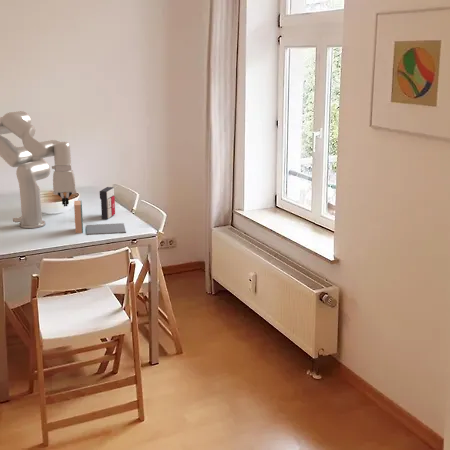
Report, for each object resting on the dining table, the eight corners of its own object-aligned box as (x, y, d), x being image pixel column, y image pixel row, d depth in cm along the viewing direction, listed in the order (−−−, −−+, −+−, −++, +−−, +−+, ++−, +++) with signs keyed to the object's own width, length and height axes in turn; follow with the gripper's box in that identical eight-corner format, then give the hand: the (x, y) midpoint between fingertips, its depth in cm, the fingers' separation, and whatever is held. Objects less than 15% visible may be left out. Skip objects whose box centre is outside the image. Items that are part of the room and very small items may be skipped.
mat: (86, 234, 310) (86, 233, 310) (86, 225, 325) (86, 224, 325) (125, 232, 314) (125, 231, 314) (123, 224, 329) (123, 223, 329)
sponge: (75, 233, 312) (74, 205, 308) (75, 228, 320) (74, 200, 317) (83, 233, 313) (81, 204, 309) (83, 228, 321) (81, 200, 317)
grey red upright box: (108, 219, 337) (107, 191, 333) (100, 219, 338) (99, 191, 334) (116, 214, 347) (115, 187, 343) (108, 214, 348) (107, 186, 344)
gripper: (46, 170, 302) (49, 208, 307) (79, 169, 305) (81, 206, 310) (47, 167, 309) (50, 204, 314) (79, 166, 312) (81, 203, 317)
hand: (65, 205), depth 312 cm, fingers closed
